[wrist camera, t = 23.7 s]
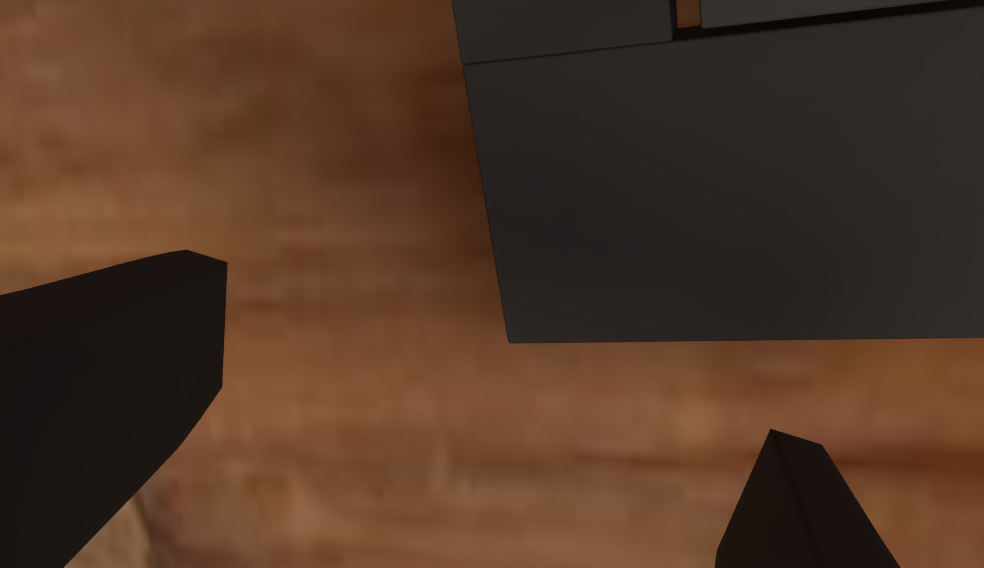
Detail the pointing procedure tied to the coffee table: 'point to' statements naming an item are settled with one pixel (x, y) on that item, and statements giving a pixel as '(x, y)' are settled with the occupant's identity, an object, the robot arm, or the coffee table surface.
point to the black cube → (783, 9)
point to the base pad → (729, 171)
